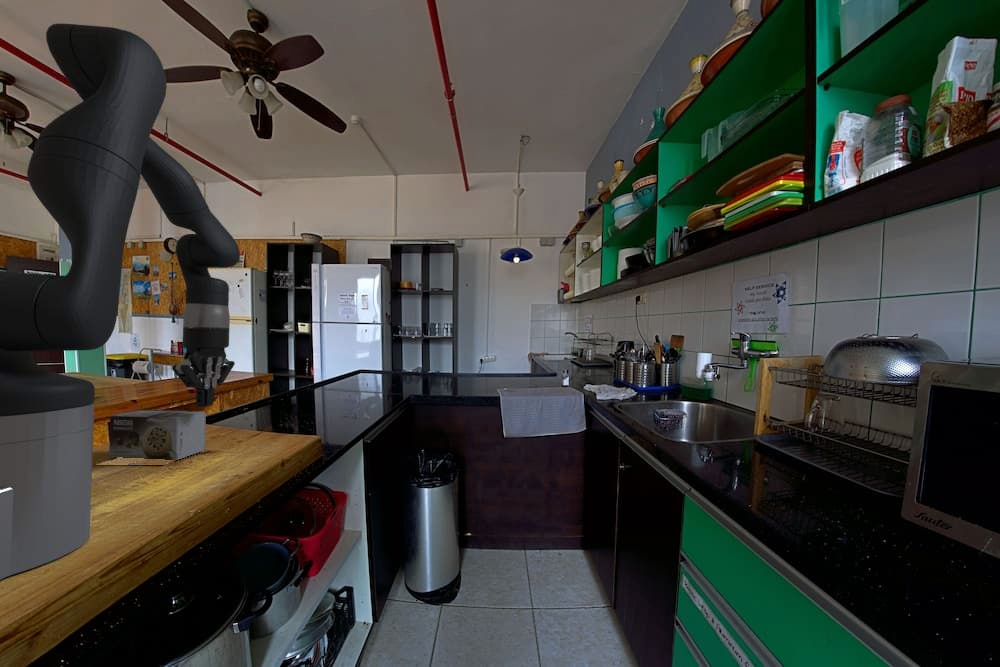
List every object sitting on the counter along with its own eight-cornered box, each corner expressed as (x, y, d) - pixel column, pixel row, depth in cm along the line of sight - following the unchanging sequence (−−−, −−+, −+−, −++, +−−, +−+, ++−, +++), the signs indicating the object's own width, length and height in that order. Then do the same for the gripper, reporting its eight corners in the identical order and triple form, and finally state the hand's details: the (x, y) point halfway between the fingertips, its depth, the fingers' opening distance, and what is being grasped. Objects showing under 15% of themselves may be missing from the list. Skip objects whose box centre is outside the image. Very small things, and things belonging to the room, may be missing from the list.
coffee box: (207, 410, 74) (144, 408, 76) (176, 417, 68) (108, 414, 69) (206, 451, 74) (143, 447, 76) (175, 461, 68) (107, 457, 69)
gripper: (216, 327, 78) (214, 400, 77) (158, 324, 64) (155, 412, 64) (247, 327, 78) (246, 400, 77) (195, 324, 64) (193, 413, 64)
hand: (204, 406), depth 71 cm, fingers closed
